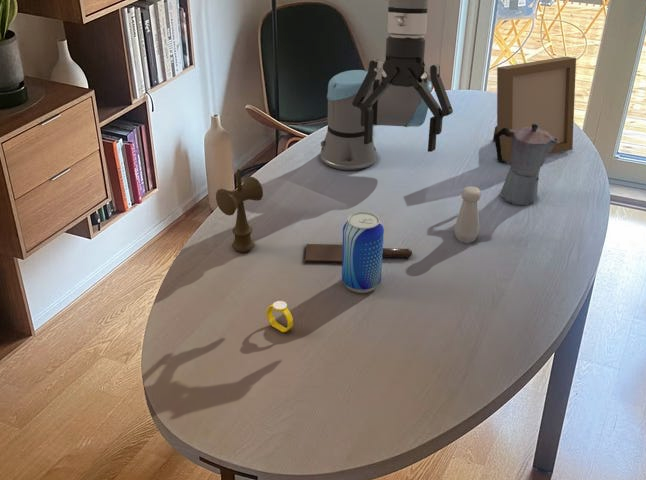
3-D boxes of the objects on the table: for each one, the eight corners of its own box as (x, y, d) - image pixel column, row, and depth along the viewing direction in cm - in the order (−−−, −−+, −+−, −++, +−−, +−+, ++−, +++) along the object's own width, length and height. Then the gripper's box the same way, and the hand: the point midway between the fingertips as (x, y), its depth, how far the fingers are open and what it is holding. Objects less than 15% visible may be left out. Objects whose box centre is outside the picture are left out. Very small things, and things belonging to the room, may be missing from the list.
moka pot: (547, 210, 203) (562, 135, 191) (485, 203, 206) (495, 129, 193) (547, 191, 211) (561, 118, 199) (487, 185, 213) (497, 112, 201)
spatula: (411, 248, 188) (411, 241, 187) (412, 265, 183) (413, 257, 182) (306, 246, 189) (306, 239, 187) (305, 262, 183) (305, 255, 182)
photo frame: (571, 152, 229) (589, 65, 214) (505, 166, 222) (519, 76, 207) (540, 131, 240) (555, 46, 225) (476, 144, 233) (487, 57, 218)
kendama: (218, 251, 186) (211, 172, 174) (249, 235, 192) (245, 157, 180) (236, 261, 183) (230, 181, 171) (267, 244, 189) (264, 165, 177)
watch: (264, 325, 165) (263, 301, 161) (273, 319, 166) (272, 295, 163) (286, 337, 162) (285, 313, 158) (295, 331, 163) (295, 307, 160)
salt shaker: (463, 229, 195) (470, 180, 188) (483, 238, 192) (490, 189, 184) (448, 238, 192) (453, 188, 184) (467, 247, 189) (474, 198, 181)
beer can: (360, 299, 172) (362, 234, 162) (333, 282, 177) (334, 218, 167) (388, 285, 177) (392, 220, 167) (362, 268, 182) (364, 205, 172)
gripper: (338, 33, 159) (335, 143, 167) (464, 41, 150) (453, 157, 158) (353, 31, 165) (349, 137, 173) (474, 39, 156) (464, 150, 164)
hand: (399, 146), depth 166 cm, fingers open, 13 cm apart
